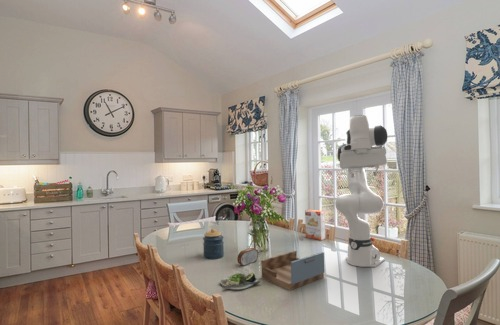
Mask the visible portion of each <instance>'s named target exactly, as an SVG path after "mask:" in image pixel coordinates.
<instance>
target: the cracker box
mask: <svg viewBox="0 0 500 325" xmlns="http://www.w3.org/2000/svg"><path fill="white" fill-rule="evenodd" d="M304 214H305V215H304V218H305V219H304V220H305V238H307V239H313V240H318V241H323V240H325V239H326V213H325V210H317V209H309V208H308V209H306V210H305V211H304Z"/></svg>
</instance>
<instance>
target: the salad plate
mask: <svg viewBox="0 0 500 325" xmlns="http://www.w3.org/2000/svg"><path fill="white" fill-rule="evenodd" d="M228 282H229V284H228ZM260 283H261V281H259V279H258V278H257V277H256V275H255V273H254V272H250V273H249V274H248V273H247V274H246V273H242V272H241V273H240V272H239V273H234V274H232V275H230V276H227V277H224V278H222V279H221V280H220V281H219V284H220V285H221V286H222V289H224V290H230V291H231V290H233V291H243V290H246V289H249V288H252V287H254V286H256V285H259V284H260Z"/></svg>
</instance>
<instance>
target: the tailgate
mask: <svg viewBox="0 0 500 325" xmlns="http://www.w3.org/2000/svg"><path fill="white" fill-rule="evenodd" d="M322 273H324V274H325V252H318V253H315V254H312V255H309V256H308V255H307V256H304V257H301V258H299V259H298V260H295V261H292V262H291V284H295V283H298V282H301V281H303V280H306V279H309V278H311V277H314V276H317V275H319V274H322Z"/></svg>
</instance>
